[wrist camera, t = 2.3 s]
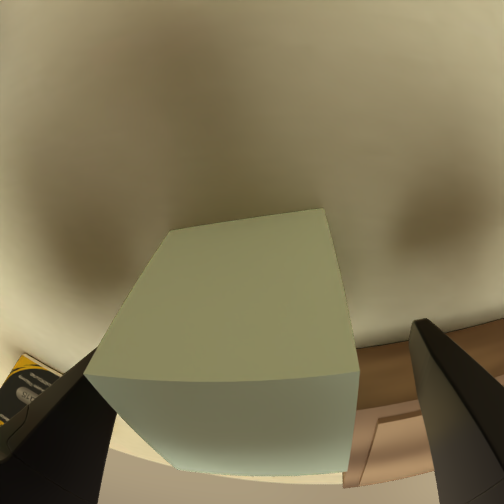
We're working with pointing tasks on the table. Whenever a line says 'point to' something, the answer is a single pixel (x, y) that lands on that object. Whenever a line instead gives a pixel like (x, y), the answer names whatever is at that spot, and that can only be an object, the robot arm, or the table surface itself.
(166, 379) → the sage block
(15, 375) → the medicine bottle
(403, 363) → the walnut base
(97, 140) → the table surface
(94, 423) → the robot arm
